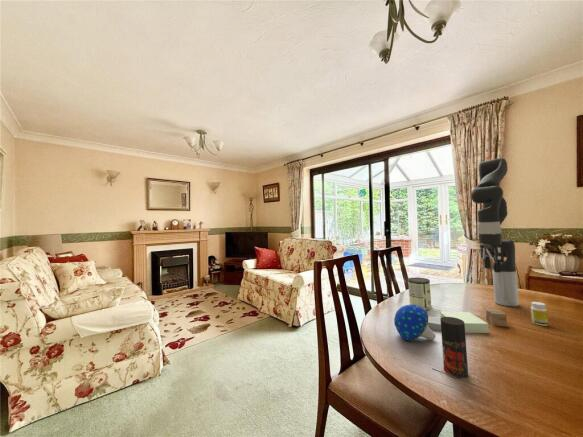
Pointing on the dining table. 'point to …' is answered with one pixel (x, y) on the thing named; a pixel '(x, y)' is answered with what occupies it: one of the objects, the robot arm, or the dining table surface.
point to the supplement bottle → (539, 314)
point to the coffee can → (420, 292)
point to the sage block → (468, 321)
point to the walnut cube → (496, 317)
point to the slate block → (434, 323)
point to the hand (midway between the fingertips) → (492, 270)
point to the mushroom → (413, 323)
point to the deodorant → (454, 347)
